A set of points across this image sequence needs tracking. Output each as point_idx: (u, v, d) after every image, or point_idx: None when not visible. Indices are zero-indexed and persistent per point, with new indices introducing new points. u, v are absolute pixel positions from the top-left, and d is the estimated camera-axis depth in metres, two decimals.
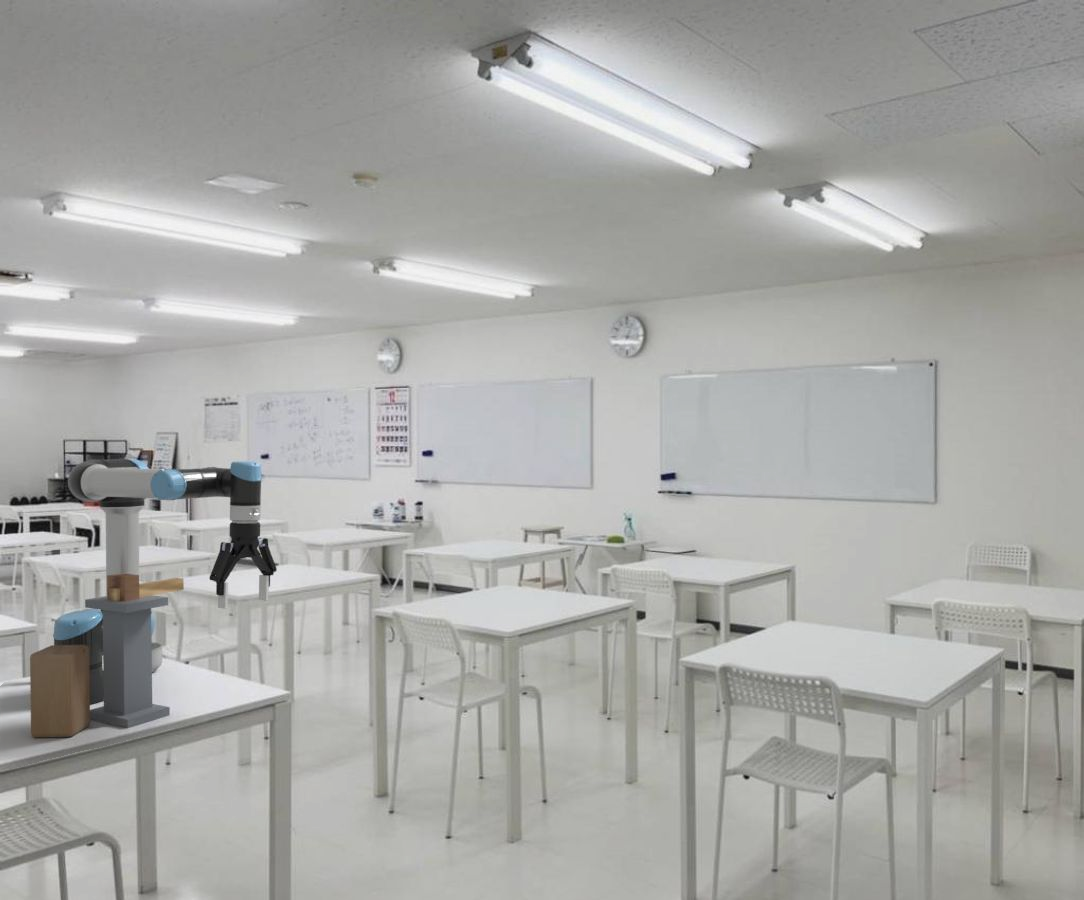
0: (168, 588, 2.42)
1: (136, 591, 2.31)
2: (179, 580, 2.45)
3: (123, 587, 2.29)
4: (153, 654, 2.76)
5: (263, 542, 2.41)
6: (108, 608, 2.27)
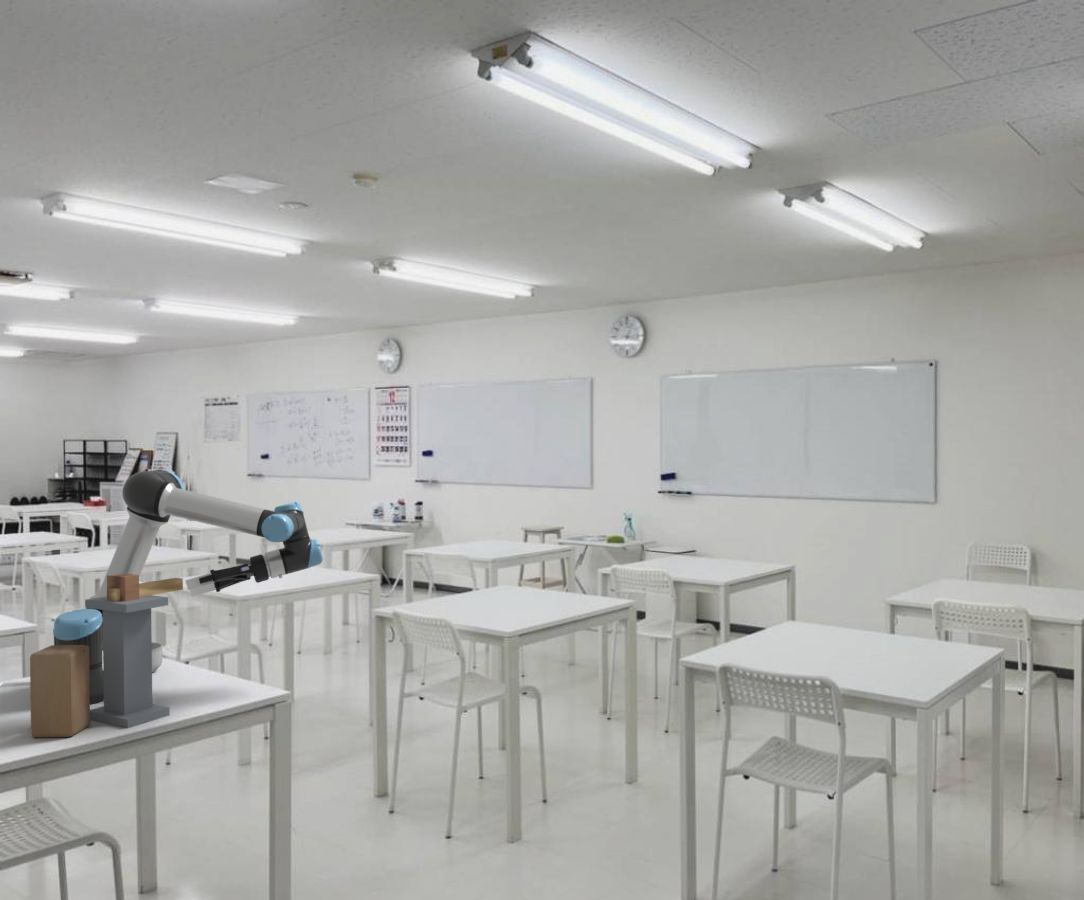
0: (167, 588, 2.42)
1: (136, 591, 2.31)
2: (178, 580, 2.45)
3: (123, 587, 2.29)
4: (153, 654, 2.76)
5: (246, 578, 2.64)
6: (108, 608, 2.27)
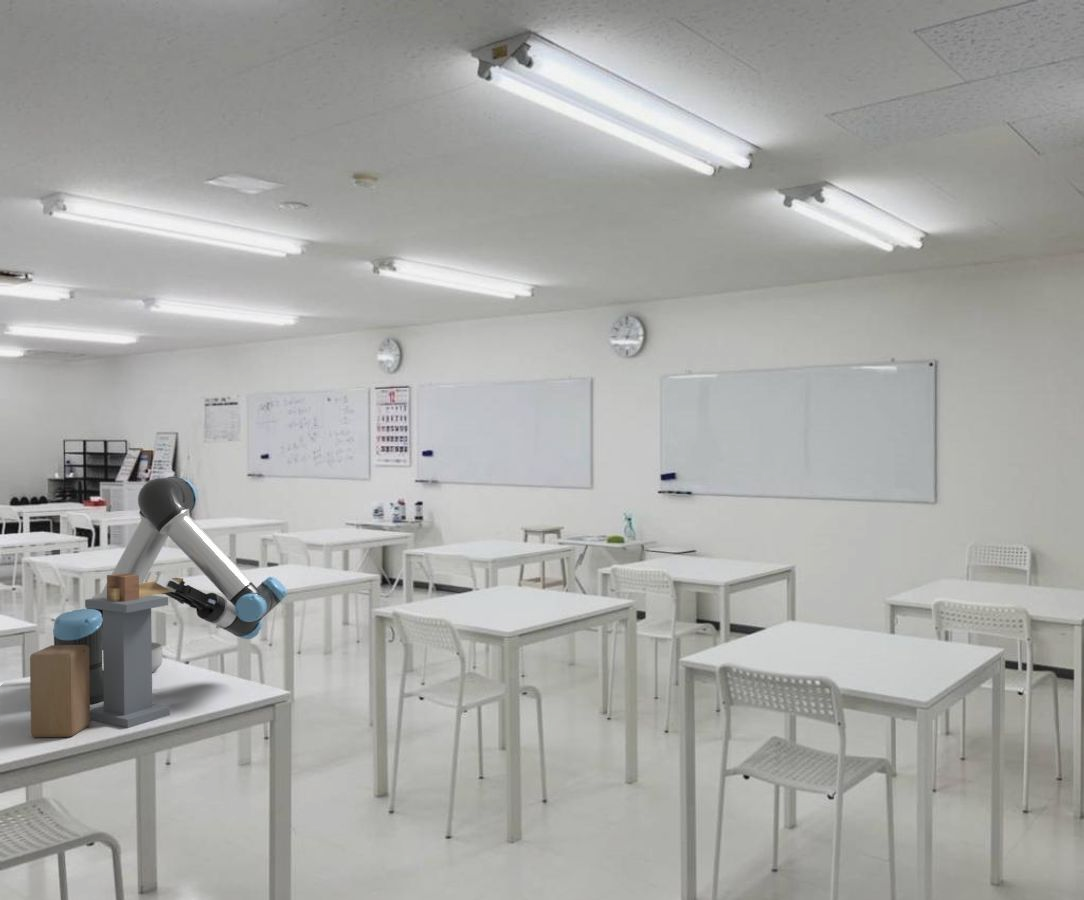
0: None
1: (135, 591, 2.31)
2: (179, 580, 2.45)
3: (122, 587, 2.29)
4: (153, 654, 2.76)
5: None
6: (108, 608, 2.27)
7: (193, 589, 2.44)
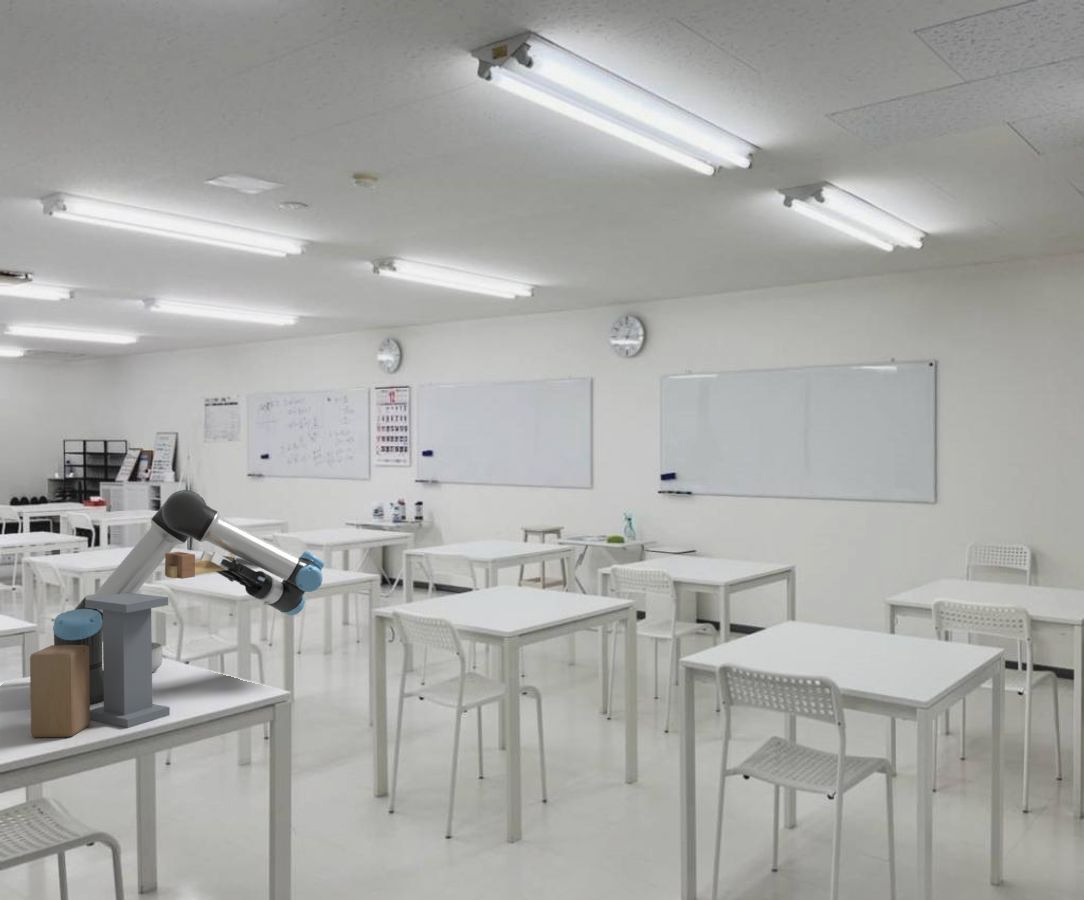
0: (220, 567, 2.57)
1: (192, 569, 2.46)
2: (231, 559, 2.60)
3: (180, 565, 2.44)
4: (153, 654, 2.76)
5: (233, 579, 2.69)
6: (108, 608, 2.27)
7: (244, 567, 2.59)
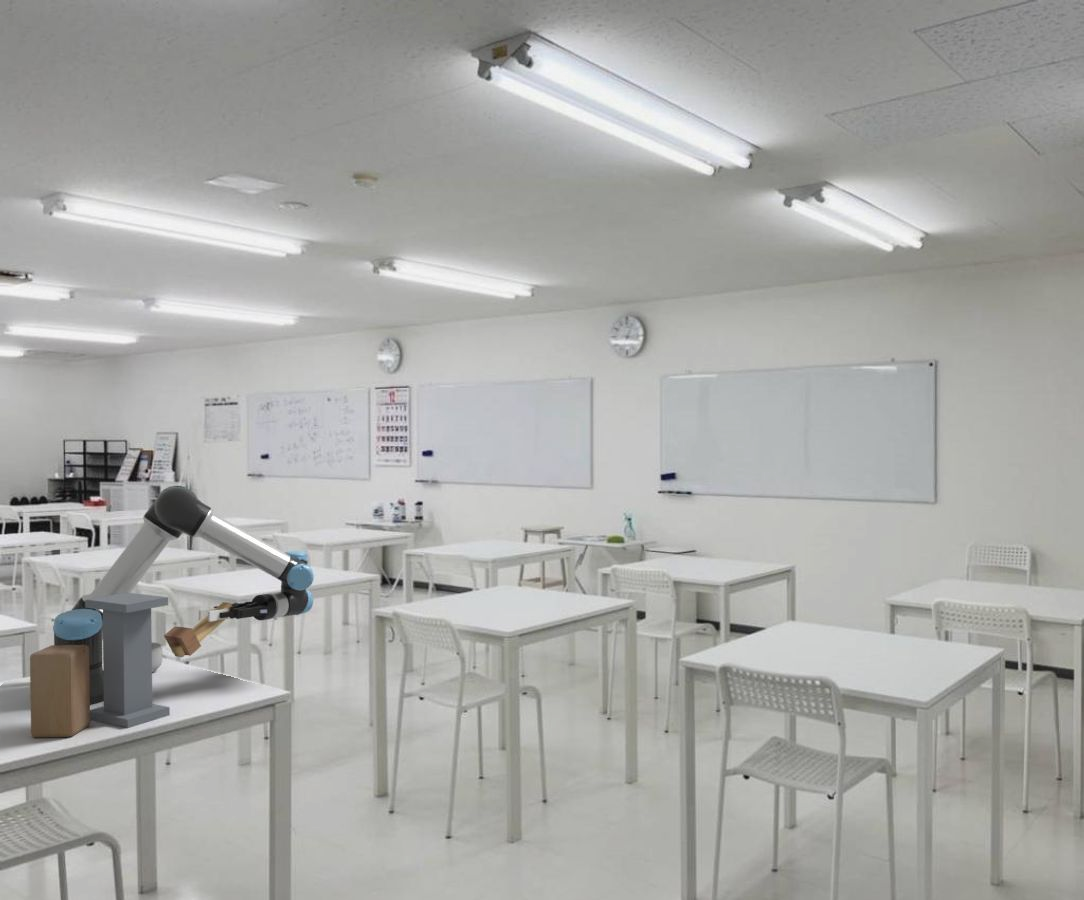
0: None
1: (195, 642, 2.47)
2: (227, 606, 2.59)
3: (183, 645, 2.45)
4: (153, 654, 2.76)
5: None
6: (108, 608, 2.27)
7: (243, 610, 2.59)
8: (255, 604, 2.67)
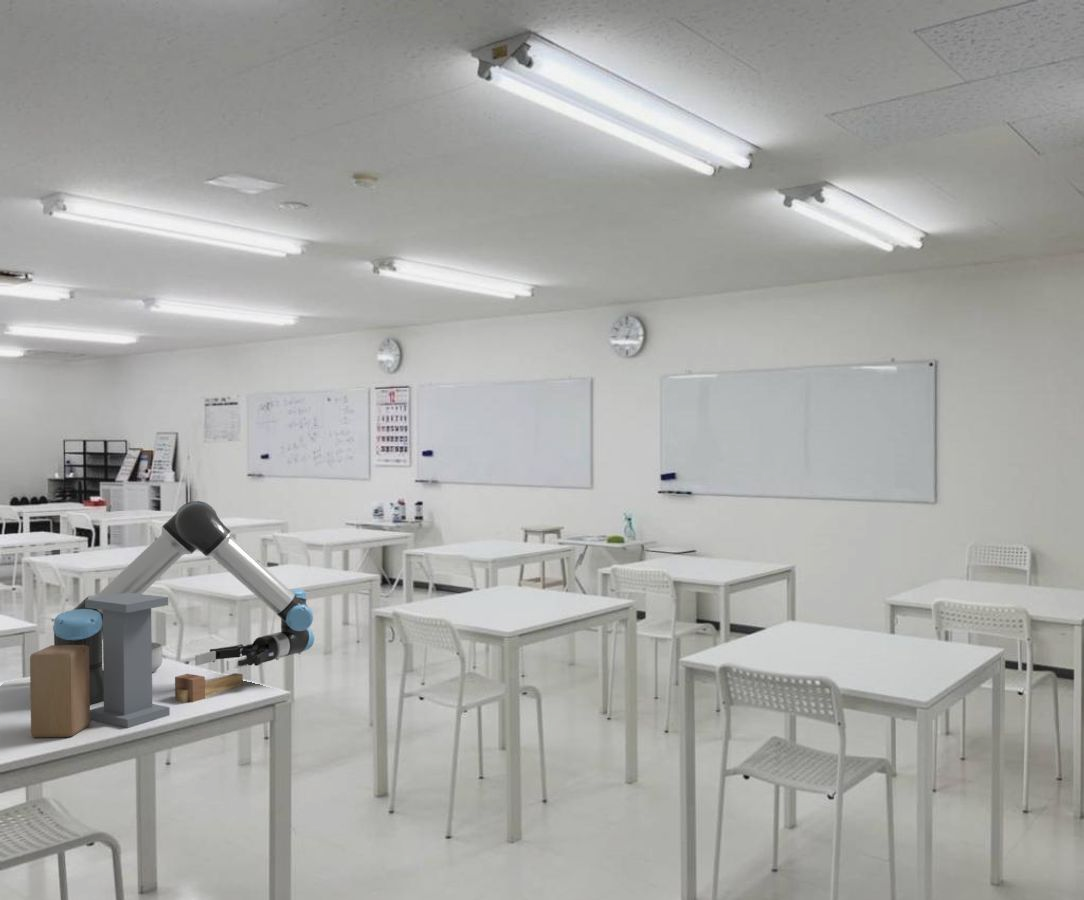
0: (229, 685, 2.59)
1: (202, 692, 2.49)
2: (239, 676, 2.62)
3: (190, 689, 2.46)
4: (153, 654, 2.76)
5: (241, 652, 2.72)
6: (108, 608, 2.27)
7: (260, 656, 2.60)
8: (258, 647, 2.68)
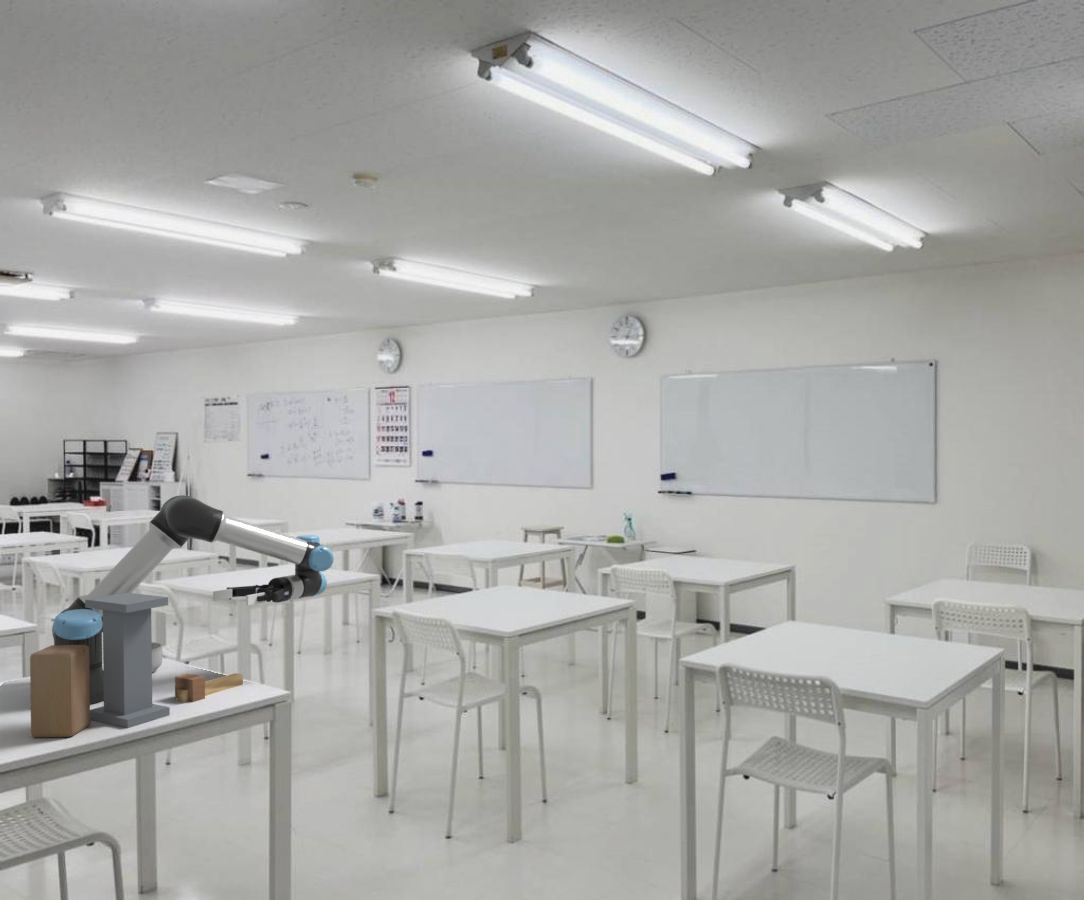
0: (229, 685, 2.59)
1: (202, 692, 2.49)
2: (239, 676, 2.62)
3: (190, 689, 2.46)
4: (153, 654, 2.76)
5: (256, 592, 2.82)
6: (108, 608, 2.27)
7: (278, 594, 2.69)
8: (273, 587, 2.77)
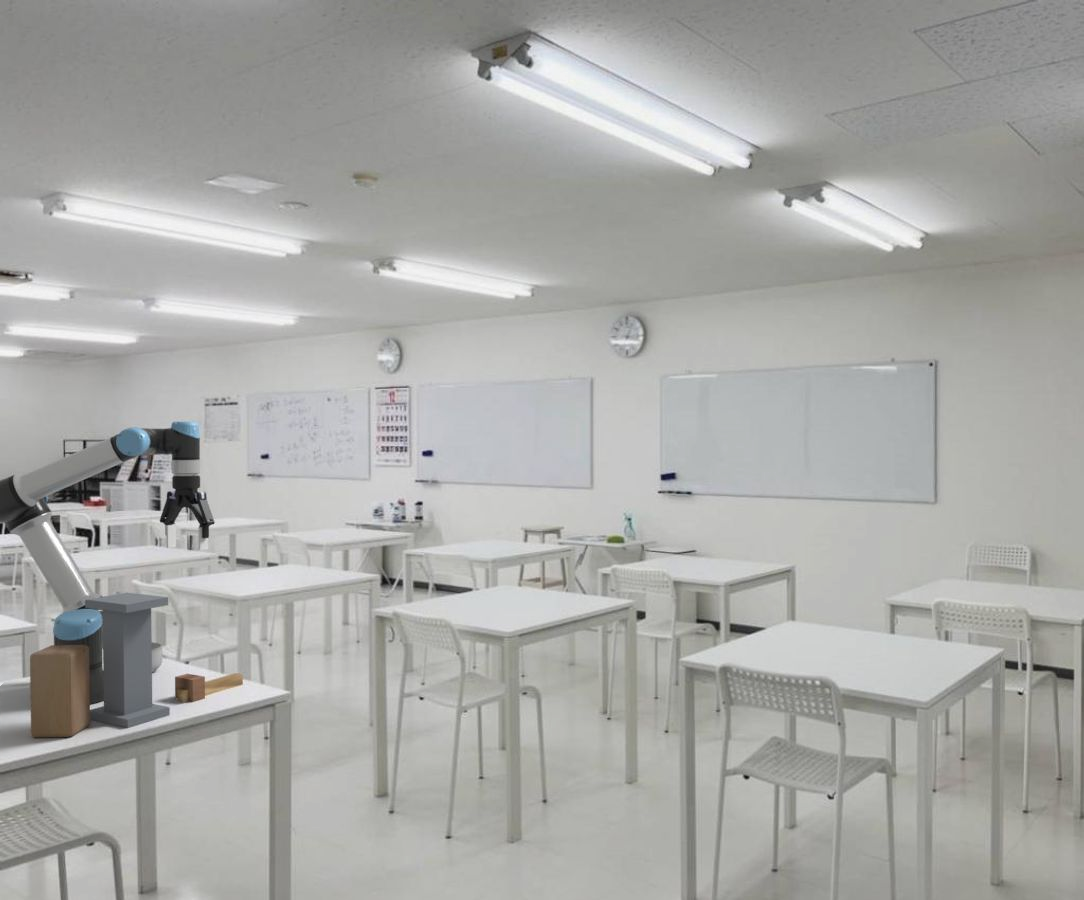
0: (229, 685, 2.59)
1: (202, 692, 2.49)
2: (239, 676, 2.62)
3: (190, 689, 2.46)
4: (153, 654, 2.76)
5: None
6: (108, 608, 2.27)
7: (207, 517, 2.60)
8: (187, 498, 2.63)
